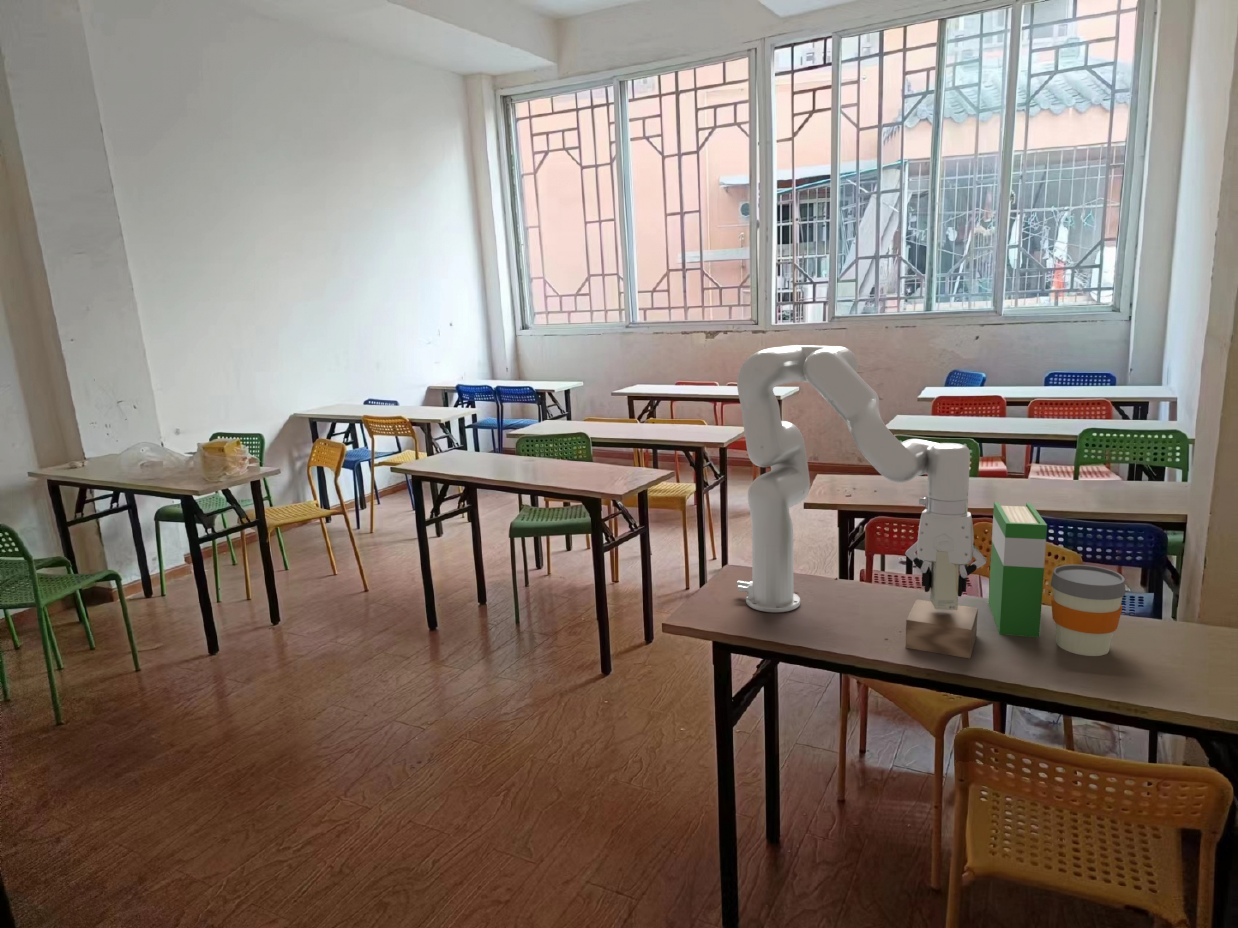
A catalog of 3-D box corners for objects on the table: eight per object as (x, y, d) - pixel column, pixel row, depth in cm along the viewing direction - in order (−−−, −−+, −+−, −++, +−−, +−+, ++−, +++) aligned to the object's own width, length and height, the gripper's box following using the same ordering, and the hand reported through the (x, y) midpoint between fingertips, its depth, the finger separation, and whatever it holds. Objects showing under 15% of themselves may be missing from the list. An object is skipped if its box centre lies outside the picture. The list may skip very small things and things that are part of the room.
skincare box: (958, 611, 152) (960, 552, 150) (934, 610, 153) (937, 551, 151) (951, 599, 159) (953, 542, 156) (929, 598, 160) (931, 542, 157)
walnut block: (905, 647, 156) (906, 619, 154) (915, 625, 166) (916, 599, 165) (969, 658, 150) (971, 629, 148) (976, 635, 160) (977, 608, 159)
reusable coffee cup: (1035, 646, 154) (1040, 575, 151) (1061, 627, 161) (1066, 559, 159) (1106, 666, 144) (1112, 591, 141) (1129, 645, 152) (1136, 574, 149)
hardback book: (988, 602, 176) (993, 501, 172) (1024, 605, 174) (1030, 503, 169) (999, 633, 160) (1005, 523, 155) (1039, 637, 158) (1047, 525, 153)
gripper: (898, 506, 153) (895, 592, 157) (993, 514, 145) (988, 604, 148) (905, 497, 159) (902, 580, 163) (996, 504, 151) (992, 591, 154)
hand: (943, 591), depth 155 cm, fingers closed on skincare box, 5 cm apart
